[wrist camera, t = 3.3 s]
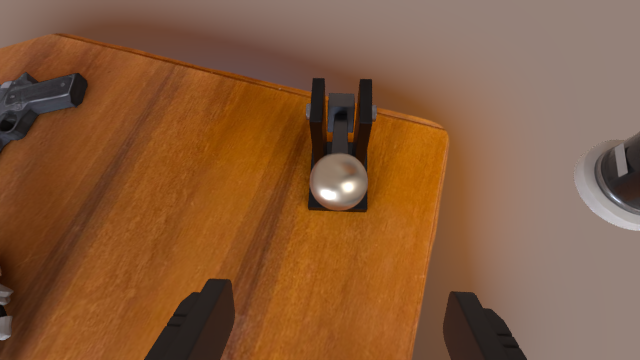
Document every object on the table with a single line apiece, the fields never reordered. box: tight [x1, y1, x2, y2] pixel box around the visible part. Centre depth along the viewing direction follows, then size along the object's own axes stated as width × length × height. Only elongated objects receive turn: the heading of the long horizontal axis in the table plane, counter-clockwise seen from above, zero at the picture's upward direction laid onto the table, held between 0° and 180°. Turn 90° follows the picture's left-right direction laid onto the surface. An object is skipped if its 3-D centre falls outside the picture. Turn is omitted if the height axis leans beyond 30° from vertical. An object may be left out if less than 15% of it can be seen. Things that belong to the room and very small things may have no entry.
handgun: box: [0, 72, 87, 152], centre depth 44 cm, size 2×19×12 cm
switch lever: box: [310, 93, 368, 211], centre depth 24 cm, size 13×4×4 cm
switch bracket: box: [306, 78, 377, 212], centre depth 34 cm, size 9×7×16 cm
